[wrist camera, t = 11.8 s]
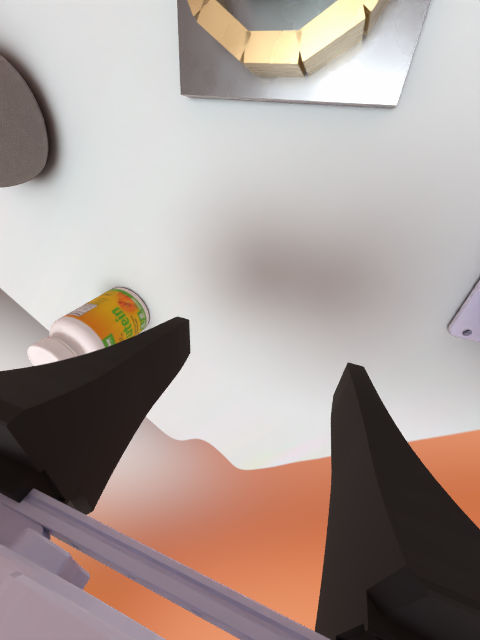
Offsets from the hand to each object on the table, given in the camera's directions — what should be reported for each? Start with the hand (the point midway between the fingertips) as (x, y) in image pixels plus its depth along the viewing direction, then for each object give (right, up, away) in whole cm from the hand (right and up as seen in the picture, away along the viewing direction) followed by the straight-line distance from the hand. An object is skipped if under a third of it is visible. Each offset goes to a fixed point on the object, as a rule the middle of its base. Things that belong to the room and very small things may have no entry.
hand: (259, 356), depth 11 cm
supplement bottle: (-13, +3, +17) cm, 22 cm away
